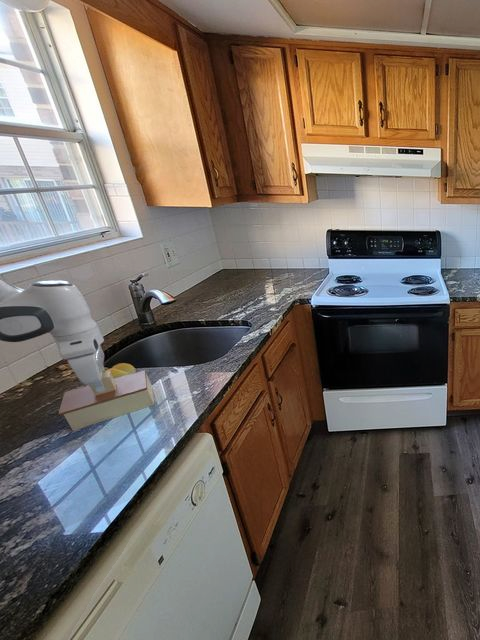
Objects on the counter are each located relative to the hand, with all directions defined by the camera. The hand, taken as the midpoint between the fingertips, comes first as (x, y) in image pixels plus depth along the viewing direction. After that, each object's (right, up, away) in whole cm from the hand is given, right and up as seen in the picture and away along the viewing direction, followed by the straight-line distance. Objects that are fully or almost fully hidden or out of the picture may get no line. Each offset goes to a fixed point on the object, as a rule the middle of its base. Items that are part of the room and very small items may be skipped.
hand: (102, 383), depth 103 cm
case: (+1, -7, +4) cm, 8 cm away
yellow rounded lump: (-13, 0, +20) cm, 23 cm away
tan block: (0, -2, +1) cm, 2 cm away
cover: (0, -2, +1) cm, 3 cm away
